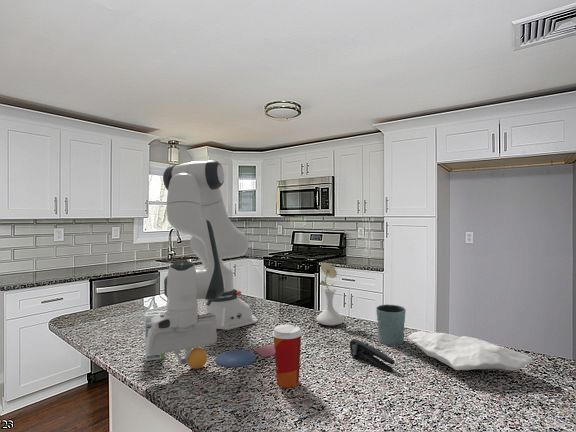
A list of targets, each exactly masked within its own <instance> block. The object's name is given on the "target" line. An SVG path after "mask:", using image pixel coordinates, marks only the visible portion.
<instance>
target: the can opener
mask: <svg viewBox="0 0 576 432" xmlns="http://www.w3.org/2000/svg"><path fill="white" fill-rule="evenodd" d="M349 348H350V355H351V356H352V357H353V358H355V359H366V360H368V361H369V362H371V364H374V365H375V366H377V367H378V368H380V369H381V370H384V371H386V372H389V373H393V372H394V369H393V367H392V366H390V365H394V364H395V363H396V362H395V360H394V359H393V358H391V357H390V356H389V355H387V354H385V353H383V352H382V351H381V350H379V349H377V348H375V347H373V346H371V345H370V344H369V343H368V342H364V341H362V340H358V339H356V338H353V339H351V340H350V341H349ZM388 364H390V365H388Z"/></svg>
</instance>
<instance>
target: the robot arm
mask: <svg viewBox="0 0 576 432" xmlns="http://www.w3.org/2000/svg"><path fill="white" fill-rule="evenodd" d="M162 175H163V176H162V181H163V184H164V187H165V189H166V190H167V196H166V218H167V221H168V223H169V225H170V226H171V227H172V228H173V229H174V230H176V231H178V232H180V233H182V234H185V235H187V236H191V238H190V241H189V242H190V243H189V246H190V250H191V252H192V253H193V254H194V255H196V257H197V258H198V259H199V260H200V263H201V264H202V266H203V268H202V269H200V268H198V269H197V268H196V266H195V263H193V262H191V261H186V260H185V261H184V260H183V261H182V260H181V261H175V262H173V263H171V264H170V265H169V266H168V270H167V271H168V272H167V275H166V277H164V281H163V282H164V283H163V285H164V286H163V287H164V288H163V289H164V290H163V291H164V296H165V297H166V298H167V301H168V302H167V305H166V311H164V313H162V314H159V315H157V316H155V317H153V318H151V326H152V327H151V328H150V329H149V331H148V335H147V343H146V350H147V352H148V354H150V355H157V354H162V353H165V354H167V353H172V352H173V353H174V354H175V355H176V357H177V360H178V365H179V366H182V365H188V357H189V355H190V353H191V350H192V349H194V348H201V347H205V346H212V345H215V344H216V342H217V341H218V336H217V335H218V333H217V330H218V329H219V330H225V331H228V330H233V329H237V328H240V327H244V326H248V325H252V324H256V323H258V318H257V317H256V316H255V315H254V314H253V313H252V312H253V311H252V309H251V306H250V305H249V304H248V303H246V302H245V301H243V300H242V299H240V298H239V297H240V296H241V295H242V291H241V290H238V289H235V288H234V272H233V270H232V268H231V267H229V266H228V265H226V264H225V263H224V260H223V259H222V258H236V257H241V256H244V255H245V254H246V253H247V251H248V249H249V245H250V241H249V238H248V236H247V235H246V234H245V233H244V232H243V231H241V230H240V229H238V227H236V226H235V225H234V223H233V222H232V220H231V219H230V218H229V215H228V214H227V211H226V207H225V202H224V199H223V194H222V191H221V188H222V185H223V184H224V182H225V172H224V168H223V166H222V164H221V163H220V162H219V161H217V160H211V159H209V160H197V161H196V160H195V161H191V162H184V163H181V164H173V165H169V166H167V167H166V169H165V170H164V171H163V174H162ZM238 296H239V297H238ZM198 300H204V301H205V303H204V304H205V314H204V313H203V314H199V311H198V309H199V307H198V306H199V305H198V302H197V301H198ZM183 350H184V351H185V353H184V356H181V355H180V354H181V353H182V351H183Z"/></svg>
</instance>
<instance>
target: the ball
mask: <svg viewBox="0 0 576 432" xmlns="http://www.w3.org/2000/svg"><path fill="white" fill-rule="evenodd" d="M207 361H208V353H207V352H206V351H205V350H204V349H203V348H201V347H195V348H191V353H190V355H189V357H188V363H187V365H188V367H190V368H192V369H194V370H198V369H201V368H203V367H204V366H205V364H206V363H207Z"/></svg>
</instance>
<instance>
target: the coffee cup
mask: <svg viewBox="0 0 576 432" xmlns="http://www.w3.org/2000/svg"><path fill="white" fill-rule="evenodd" d="M271 335H272V336H273V345H274V350H275V355H274V360H275V363H274V364H275V375H276V384H277V385H278V387H280V388H284V389H291V388H295V387H297V386H298V384H299V380H300V366H301V364H300V362H301V345H302V344H301V342H302V341H301V340H302V335H303V331H302V329H301V327H300V326H296V325H293V324H280V325H277V326H275V327H274V329H273V331H272V334H271Z"/></svg>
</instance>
